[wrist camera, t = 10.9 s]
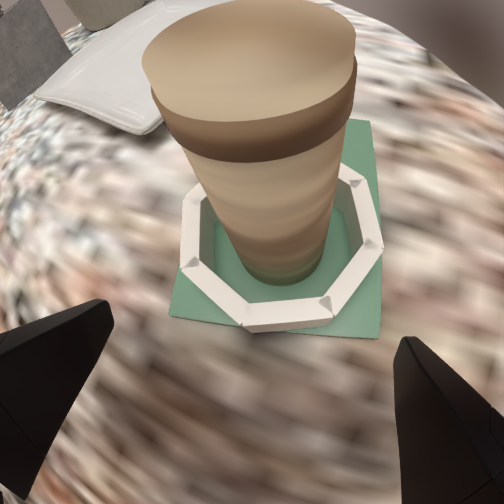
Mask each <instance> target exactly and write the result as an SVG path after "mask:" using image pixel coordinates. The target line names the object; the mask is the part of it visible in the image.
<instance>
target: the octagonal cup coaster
mask: <svg viewBox="0 0 504 504" xmlns="http://www.w3.org/2000/svg"><path fill="white" fill-rule="evenodd" d="M383 249H384V245H383V240H382V236H381V225H380V207H379V194H378V183H377V172H376V163H375V155H374V147H373V140H372V133H371V127H370V121H365V120H357V119H348V120H347V123H346V130H345V137H344V144H343V150H342V157H341V163H340V169H339V175H338V181H337V186H336V192H335V197H334V202H333V208H332V213H331V218H330V223H329V228H328V233H327V237H326V242H325V247H324V251H323V256H322V259H321V261H320V263H319V265H318V267H317V268H316V270H315V271H314V272H313V273H312V274H311V275H310V276H309V277H307V278H306V279H304V280H303V281H301V282H299V283H296V284H293V285H289V286H272V285H267V284H265V283H262V282H260V281H258V280H256V279H255V278H254V277H252V276H251V275H250V274H249V273H248V272H247V270H246V269H245V268H244V266H243V264H242V262H241V260H240V258H239V257H238V255H237V253H236V251H235V249H234V247H233V245H232V243H231V241H230V239H229V238H228V236H227V234H226V232H225V230H224V228H223V226H222V224H221V222H220V220H219V218H218V216H217V214H216V213H215V211H214V209H213V207H212V205H211V203H210V201H209V199H208V197H207V195H206V193H205V191H204V189H203V187H202V185H201V184H200V182H199V183H198V184H197V185H196V186H195V187H194V188H193V189H192V190H191V191H190V192H189V193H188V194H187V195H186V196H185V199H183V211H182V228H181V249H180V262H179V266H178V271H177V275H176V280H175V285H174V290H173V294H172V299H171V304H170V309H169V314H168V315H170V316H172V317H178V318H184V319H190V320H196V321H202V322H209V323H215V324H222V325H229V326H236V327H243V328H245V329H246V330H247V331H249V332H251V333H259V332H272V331H277V332H287V333H297V334H307V335H319V336H332V337H347V338H364V339H378V338H379V334H380V317H381V286H382V256H381V253H382V252H383Z"/></svg>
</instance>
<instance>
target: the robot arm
mask: <svg viewBox="0 0 504 504" xmlns="http://www.w3.org/2000/svg"><path fill="white" fill-rule="evenodd" d="M113 327H114V319H113V315H112V312H111V308H110V305H109V303H108V301H106V300H103V299H94V300H91V301H88V302H86V303H83V304H80V305H77V306H75V307H72V308H69V309H66V310H64V311H61V312H58V313H55V314H53V315H50V316H47V317H44V318H42V319H39V320H36V321H33V322H31V323H28V324H25V325H23V326H20V327H17V328H14V329H12V330H10V331H6V332H4V333H1V334H0V483H1V484H2V485H4V486H5V487H6V488H7V489H9V490H10V491H11V492H13V493H14V494H15V495H17V496H18V497H20V498H21V499H22V500H24V501H25V500H26V499H27V497H28V495H29V492H30V490H31V488H32V485H33V483H34V481H35V479H36V477H37V474H38V472H39V470H40V468H41V466H42V464H43V462H44V459H45V456H46V455H47V453H48V451H49V449H50V447H51V445H52V443H53V441H54V439H55V437H56V435H57V433H58V431H59V429H60V427H61V425H62V423H63V421H64V420H65V418H66V416H67V414H68V412H69V410H70V408H71V407H72V405H73V403H74V401H75V399H76V398H77V396H78V394H79V392H80V391H81V389H82V387H83V385H84V384H85V382H86V380H87V378H88V377H89V375H90V373H91V372H92V370H93V368H94V366H95V365H96V363H97V361H98V359H99V357H100V355H101V352H102V350H103V348H104V346H105V344H106V342H107V340H108V338H109V336H110V334H111V332H112V330H113ZM393 371H394V399H395V417H396V426H397V435H398V445H399V457H400V471H401V495H402V504H504V417H503V416H502V415H501V414H500V413H499V412H498V411H497V410H496V409H495V408H494V407H492V406H491V405H490V404H489V403H488V402H487V401H486V400H485V399H484V398H483V397H482V396H481V395H480V394H479V393H478V392H477V391H476V390H475V389H474V388H473V387H472V386H470V385H469V384H468V383H467V382H466V381H465V380H464V379H463V378H462V377H461V376H460V375H459V374H458V373H456V372H455V371H454V370H453V369H452V368H451V367H450V366H449V365H448V364H447V363H445V362H444V361H443V360H442V359H441V358H440V357H439V356H438V355H437V354H435V353H434V352H433V351H432V350H431V349H430V348H429V347H428V346H426V345H425V344H424V343H423V342H422V341H421V340H420V339H419V338H417V337H415V336H405V337H403V338H402V339H401V341H400V344H399V347H398V350H397V352H396V355H395V358H394V362H393ZM491 407H492V408H491ZM0 504H4V502H3V496H2V492H1V491H0Z"/></svg>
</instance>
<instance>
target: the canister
mask: <svg viewBox="0 0 504 504" xmlns="http://www.w3.org/2000/svg"><path fill="white" fill-rule="evenodd" d="M64 1H65V3H66V4H67V5H68V7H69V8H70V9H71V11H72V12H73V13H74V15H75V16H76V17H77V19H78V20H79V21H80V22H81V24H82V25H83V26H84V27H85V28H86V29H87V30H89V31H93V32H94V31H99V30H102V29H105V28H107V27H109V26H112V25H114V24H115V23H117V22H119V21H120V20H122V19H123V18H125V17H127V16H128V15H130V14H132V13H133V12H135V11H137V10H139V9H141V8H142V6H143V5H144V0H64Z"/></svg>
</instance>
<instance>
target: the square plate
mask: <svg viewBox="0 0 504 504" xmlns="http://www.w3.org/2000/svg"><path fill="white" fill-rule="evenodd" d="M230 1H235V0H155V1H154V2H152V3H150V4H148V5H146V6H144V7H142V8H141V9H139V10H137V11H135V12H133V13H132V14H130V15H128V16H127V17H125V18H123V19H122V20H120V21H119V22H117V23H115V24H114V25H112V26H111V27H109V28H108V29H107V30H105V31H104V32H102V33H101V34H100V35H98V36H97V37H96V38H94V39H93V40H92V41H90V42H89V43H88V44H87V45H85V46H84V47H83V48H82V49H80V50H79V51H78V52H77V53H76V54H75V55H73V56H72V57H71V58H70V59H69V60H68V61H67V62H66V63H65V64H63V65H62V66H61V67H60V68H59V69H58V70H57V71H56V72H55V73H54V74H53V75H52V76H51V77H50V78H49V79H48V80H47V81H46V82H45V83H44V84H43V85H42V86H41V87H40V88H39V89H38V90H37V92H36V93H35V94H34V96H33V97H34V98H36V99H39V100H43V101H48V102H53V103H57V104H61V105H65V106H68V107H71V108H74V109H76V110H79V111H81V112H84V113H86V114H88V115H91V116H93V117H95V118H97V119H99V120H101V121H103V122H106V123H108V124H110V125H112V126H114V127H117V128H119V129H121V130H124V131H126V132H128V133H131V134H134V135H145V134H147V133H150V132H151V131H153V130H154V129H155V128H157V127H158V126H159V125H160V124H161V123H163V122H164V119H163V117H162V116H161V114H160V112H159V110H158V108H157V106H156V104H155V102H154V100H153V98H152V94H151V84H150V82H149V80H148V78H147V76H146V74H145V72H144V70H143V68H142V64H141V62H142V56H143V53H144V51H145V49H146V47H147V46H148V45H149V43H150V42H151V41H152V40H153V39H154V38H155V37H156V36H157V35H158V34H159V33H160V32H162V31H163V30H164V29H165V28H167V27H168V26H170V25H171V24H173V23H174V22H176V21H178V20H180V19H181V18H183V17H185V16H188V15H190V14H192V13H194V12H197V11H199V10H202V9H205V8H207V7H210V6H214V5H217V4H221V3H225V2H230Z"/></svg>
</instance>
